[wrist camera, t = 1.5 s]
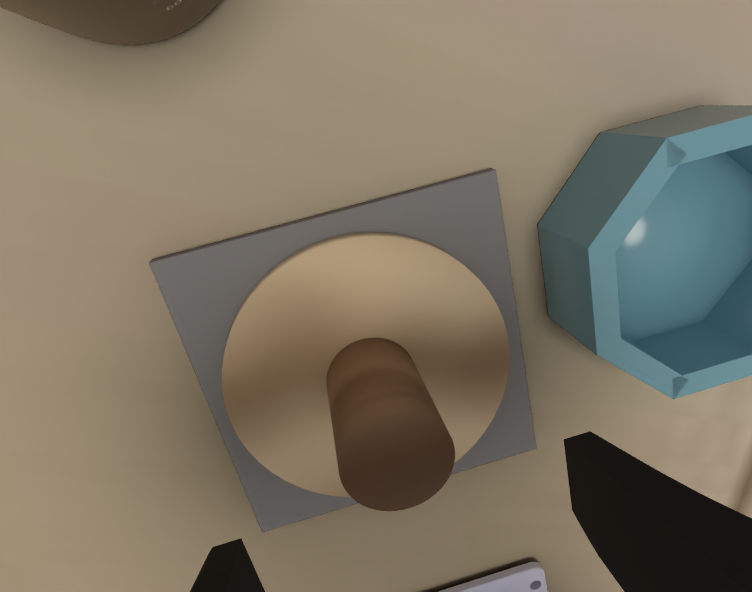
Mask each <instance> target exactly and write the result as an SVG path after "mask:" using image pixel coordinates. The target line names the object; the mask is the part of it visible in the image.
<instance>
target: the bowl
mask: <svg viewBox="0 0 752 592" xmlns="http://www.w3.org/2000/svg"><path fill="white" fill-rule="evenodd" d="M537 225H538V234H539V242H540V250H541V258H542V266H543V275H544V283H545V291H546V299H547V308H548V316H549V317H550V318H551V319H552V320H554V321H555V322H556V323H557V324H559V325H560V326H561V327H562V328H564V329H565V330H566V331H567V332H569V333H570V334H571V335H572V336H574V337H575V338H576V339H577V340H579V341H580V342H581V343H582V344H584V345H585V346H586V347H587V348H588V349H590V350H591V351H592V352H593V353H595V354H596V355H598V356H599V357H601V358H603V359H605V360H606V361H608V362H610V363H611V364H613V365H615V366H617V367H618V368H620V369H622V370H624V371H625V372H627V373H629V374H631V375H632V376H634V377H636V378H637V379H639V380H641V381H643V382H644V383H646V384H648V385H650V386H651V387H653V388H655V389H656V390H658V391H660V392H662V393H663V394H665V395H667V396H669V397H670V398H672V399H675V398H679V397H682V396H685V395H689V394H692V393H695V392H698V391H702V390H705V389H708V388H711V387H715V386H718V385H721V384H725V383H728V382H731V381H734V380H738V379H741V378H744V377H747V376H751V375H752V106H697V107H694V108H690V109H686V110H682V111H679V112H675V113H671V114H667V115H664V116H660V117H656V118H653V119H649V120H645V121H641V122H638V123H634V124H630V125H626V126H623V127H619V128H615V129H612V130H608V131H604V132H600V134H599V135H598V136H597V138H596V139H595V141H594V142H593V144H592V145H591V147H590V148H589V150H588V151H587V153H586V154H585V156H584V157H583V159H582V160H581V161H580V163H579V164H578V166H577V167H576V169H575V170H574V172H573V173H572V175H571V176H570V178H569V179H568V181H567V182H566V184H565V185H564V186H563V188H562V189H561V191H560V192H559V194H558V195H557V197H556V198H555V200H554V201H553V203H552V204H551V206H550V207H549V208H548V210H547V211H546V213H545V214H544V216H543V217H542V219H541V220H540V222H539V223H538V224H537Z"/></svg>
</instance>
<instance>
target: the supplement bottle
mask: <svg viewBox="0 0 752 592" xmlns="http://www.w3.org/2000/svg"><path fill="white" fill-rule="evenodd" d="M219 1H220V0H0V7H1V8H3V9H6V10H8V11H11V12H14V13H16V14H19V15H21V16H24V17H27V18H29V19H32V20H34V21H37V22H40V23H42V24H45V25H48V26H50V27H53V28H55V29H58V30H61V31H63V32H66V33H70V34H72V35H75V36H78V37H82V38H85V39H89V40H92V41H97V42H103V43H109V44H120V45H138V44H146V43H152V42H157V41H161V40H164V39H167V38H170V37H173V36H175V35H177V34H179V33H181V32H184V31H186V30H187V29H189V28H190V27H192V26H194V25H195V24H197V23H198V22H199V21H200V20H202V19H203V18H204V17H205V16H206V15H207V14H208V13H209V12H210V11H211V10H212V9H213V8H214V7H215V6H216V5H217V4H218V2H219Z"/></svg>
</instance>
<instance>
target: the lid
mask: <svg viewBox="0 0 752 592" xmlns="http://www.w3.org/2000/svg"><path fill="white" fill-rule="evenodd" d="M509 360H510V352H509V341H508V335H507V331H506V327H505V322H504V320H503V317H502V315H501V312H500V310H499V307H498V306H497V304H496V302H495V300H494V299H493V297H492V295H491V294H490V292H489V291H488V289H487V288H486V287H485V286H484V285H483V283H482V282H481V281H480V280H479V278H478V277H476V276H475V275H474V274H473V273H472V272H471V271H470V270H469V269H468V268H467V267H466V266H464V265H463V264H462V263H461V262H460V261H459V260H458V259H456V258H455V257H453V256H452V255H450V254H449V253H447V252H446V251H444V250H443V249H441V248H439V247H437V246H435V245H433V244H431V243H429V242H426V241H423V240H420V239H417V238H414V237H411V236H407V235H402V234H396V233H391V232H373V231H369V232H356V233H348V234H343V235H339V236H334V237H330V238H327V239H324V240H321V241H318V242H316V243H313V244H311V245H309V246H307V247H305V248H303V249H301V250H299V251H297V252H295V253H293V254H291V255H290V256H289V257H287V258H286V259H284V260H283V261H281V262H280V263H278V264H277V265H276V266H275V267H273V268H272V269H271V270H270V271H269V272H268V273H267V274H266V275H264V276H263V277H262V278H261V280H260V281H259V282H258V283H257V284H256V285H255V287H254V288H253V289H252V290H251V291H250V293H249V294H248V296H247V297H246V299H245V300H244V302H243V303H242V305H241V307H240V308H239V311H238V313H237V315H236V317H235V319H234V321H233V323H232V327H231V330H230V333H229V337H228V340H227V344H226V347H225V351H224V358H223V365H222V391H223V397H224V403H225V407H226V410H227V413H228V416H229V419H230V422H231V424H232V426H233V428H234V430H235V432H236V434H237V436H238V437H239V439H240V440H241V442H242V443H243V444H244V446H245V447H246V449H247V450H248V451H249V452H250V453H251V454H252V455H253V456H254V457H255V459H256V460H257V461H258V462H259V463H261V464H262V465H263V466H264V467H266V468H267V469H268V470H269V471H271V472H272V473H273V474H275V475H277V476H278V477H280V478H282V479H283V480H285V481H287V482H289V483H291V484H293V485H296V486H298V487H300V488H303V489H306V490H309V491H312V492H316V493H320V494H325V495H330V496H338V497H352V498H353V499H354V500H355V501H357V502H358V503H360V504H361V505H364V506H366V507H368V508H372V509H375V510H381V511H397V510H403V509H407V508H411V507H414V506H416V505H419V504H421V503H423V502H424V501H426V500H428V499H429V498H431V497H432V496H433V495H434V494H436V493H437V492H438V491H439V490H440V489H441V488H442V487H443V485H444V484H445V483H446V481H447V480H448V478H449V476H450V474H451V472H452V469H453V466H454V463H455V462H456V461H457V460H459V459H460V458H461V457H462V456H463V455H464V454H466V453H467V452H468V451H469V450H470V449H471V448H472V447H473V446H474V445H475V443H476V442H477V441H478V440H479V438H480V437H481V436H482V435H483V433H484V432H485V431H486V429H487V428H488V426H489V424H490V423H491V421H492V420H493V418H494V416H495V414H496V412H497V410H498V408H499V405H500V403H501V401H502V398H503V395H504V391H505V388H506V384H507V379H508V373H509Z"/></svg>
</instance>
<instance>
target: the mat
mask: <svg viewBox="0 0 752 592" xmlns="http://www.w3.org/2000/svg"><path fill="white" fill-rule="evenodd" d="M369 231H373V232H391V233H396V234H402V235H407V236H411V237H414V238H417V239H420V240H423V241H426V242H429V243H431V244H433V245H435V246H437V247H439V248H441V249H443V250H444V251H446V252H447V253H449V254H450V255H452V256H453V257H455V258H456V259H458V260H459V261H460V262H461V263H462V264H463V265H464V266H466V267H467V268H468V269H469V270H470V271H471V272H472V273H473V274H474V275H475V276H476V277H478V278H479V280H480V281H481V282H482V283H483V285H484V286H485V287H486V288H487V289H488V291H489V292H490V294H491V295H492V297H493V299H494V300H495V302H496V304H497V306H498V307H499V310H500V312H501V315H502V317H503V320H504V322H505V327H506V331H507V335H508V341H509V352H510V360H509V373H508V379H507V384H506V388H505V391H504V395H503V398H502V401H501V403H500V405H499V408H498V410H497V412H496V414H495V416H494V418H493V420H492V421H491V423H490V424H489V426H488V428H487V429H486V431H485V432H484V433H483V435H482V436H481V437H480V438H479V440H478V441H477V442H476V443H475V445H474V446H473V447H472V448H471V449H470V450H469V451H468V452H467V453H466V454H464V455H463V456H462V457H461V458H460V459H459V460H457V461H456V462H455V463H454V466H453V469H452V472H451V474H454V473H458V472H461V471H464V470H468V469H471V468H474V467H477V466H481V465H484V464H487V463H490V462H494V461H497V460H500V459H503V458H507V457H510V456H513V455H516V454H520V453H523V452H526V451H530V450H533V449H536V441H535V434H534V428H533V421H532V414H531V407H530V400H529V393H528V387H527V380H526V373H525V366H524V359H523V352H522V346H521V339H520V332H519V325H518V318H517V311H516V305H515V298H514V291H513V284H512V277H511V271H510V264H509V257H508V250H507V243H506V236H505V230H504V223H503V216H502V209H501V202H500V195H499V189H498V182H497V175H496V170H495V169H492V168H490V169H486V170H483V171H479V172H475V173H472V174H468V175H464V176H460V177H457V178H453V179H449V180H446V181H442V182H438V183H434V184H431V185H427V186H423V187H420V188H416V189H412V190H408V191H405V192H401V193H397V194H394V195H390V196H386V197H382V198H379V199H375V200H371V201H367V202H364V203H360V204H356V205H353V206H349V207H345V208H341V209H338V210H334V211H330V212H327V213H323V214H319V215H315V216H312V217H308V218H304V219H301V220H297V221H293V222H289V223H286V224H282V225H278V226H275V227H271V228H267V229H263V230H260V231H256V232H252V233H248V234H245V235H241V236H237V237H234V238H230V239H226V240H222V241H219V242H215V243H211V244H208V245H204V246H200V247H196V248H193V249H189V250H185V251H182V252H178V253H174V254H170V255H167V256H163V257H159V258H156V259H152V260H151V261H150V262H149V264H150V267H151V269H152V271H153V274H154V276H155V279H156V281H157V283H158V286H159V288H160V290H161V293H162V295H163V298H164V300H165V302H166V305H167V307H168V309H169V312H170V314H171V317H172V319H173V321H174V324H175V326H176V328H177V331H178V333H179V336H180V338H181V340H182V343H183V345H184V347H185V350H186V352H187V355H188V357H189V359H190V362H191V364H192V366H193V369H194V371H195V374H196V376H197V378H198V381H199V383H200V385H201V388H202V390H203V393H204V395H205V397H206V400H207V402H208V404H209V407H210V409H211V412H212V414H213V416H214V419H215V421H216V423H217V426H218V428H219V431H220V433H221V435H222V438H223V440H224V442H225V445H226V447H227V450H228V452H229V454H230V457H231V459H232V461H233V464H234V466H235V469H236V471H237V473H238V476H239V478H240V480H241V483H242V485H243V488H244V490H245V492H246V495H247V497H248V499H249V502H250V504H251V506H252V509H253V511H254V514H255V516H256V518H257V521H258V523H259V525H260V528H261V530H262V532H265V531H269V530H272V529H275V528H278V527H282V526H285V525H288V524H291V523H295V522H298V521H301V520H304V519H308V518H311V517H314V516H317V515H321V514H324V513H327V512H331V511H334V510H337V509H340V508H344V507H347V506H350V505H353V504H357V503H358V502H357V501H355V500H354V499H353V498H352V497H338V496H330V495H325V494H320V493H316V492H312V491H309V490H306V489H303V488H300V487H298V486H296V485H293V484H291V483H289V482H287V481H285V480H283V479H282V478H280V477H278V476H277V475H275V474H273V473H272V472H271V471H269V470H268V469H267V468H266V467H264V466H263V465H262V464H261V463H259V462H258V461H257V460H256V459H255V457H254V456H253V455H252V454H251V453H250V452H249V451H248V450H247V449H246V447H245V446H244V444H243V443H242V442H241V440H240V439H239V437H238V436H237V434H236V432H235V430H234V428H233V426H232V424H231V422H230V419H229V416H228V413H227V410H226V407H225V403H224V397H223V391H222V365H223V358H224V351H225V347H226V344H227V340H228V337H229V333H230V330H231V327H232V323H233V321H234V319H235V317H236V315H237V313H238V311H239V308H240V307H241V305H242V303H243V302H244V300H245V299H246V297H247V296H248V294H249V293H250V291H251V290H252V289H253V288H254V287H255V285H256V284H257V283H258V282H259V281H260V280H261V278H262V277H263V276H264V275H266V274H267V273H268V272H269V271H270V270H271V269H272V268H273V267H275V266H276V265H277V264H278V263H280V262H281V261H283V260H284V259H286V258H287V257H289V256H290V255H291V254H293V253H295V252H297V251H299V250H301V249H303V248H305V247H307V246H309V245H311V244H313V243H316V242H318V241H321V240H324V239H327V238H330V237H334V236H339V235H343V234H348V233H356V232H369ZM451 474H450V475H451Z"/></svg>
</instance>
